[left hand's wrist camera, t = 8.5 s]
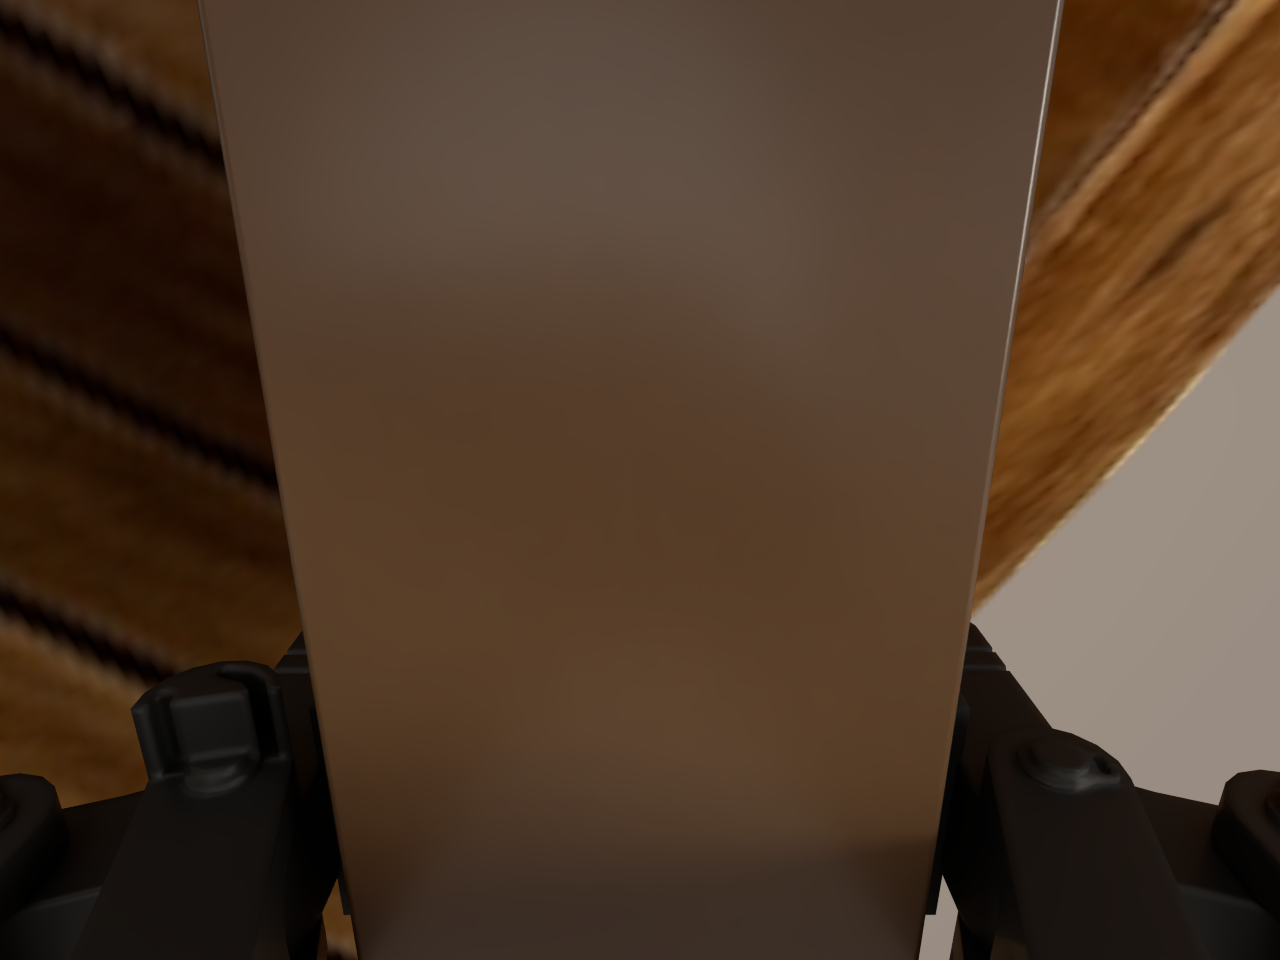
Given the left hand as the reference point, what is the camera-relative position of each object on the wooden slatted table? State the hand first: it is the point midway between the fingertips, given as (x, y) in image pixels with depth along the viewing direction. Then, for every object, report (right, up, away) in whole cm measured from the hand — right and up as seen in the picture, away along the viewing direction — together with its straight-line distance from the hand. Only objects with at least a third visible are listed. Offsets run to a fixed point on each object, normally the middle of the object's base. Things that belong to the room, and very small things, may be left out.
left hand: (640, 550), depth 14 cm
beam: (0, +19, -6) cm, 20 cm away
